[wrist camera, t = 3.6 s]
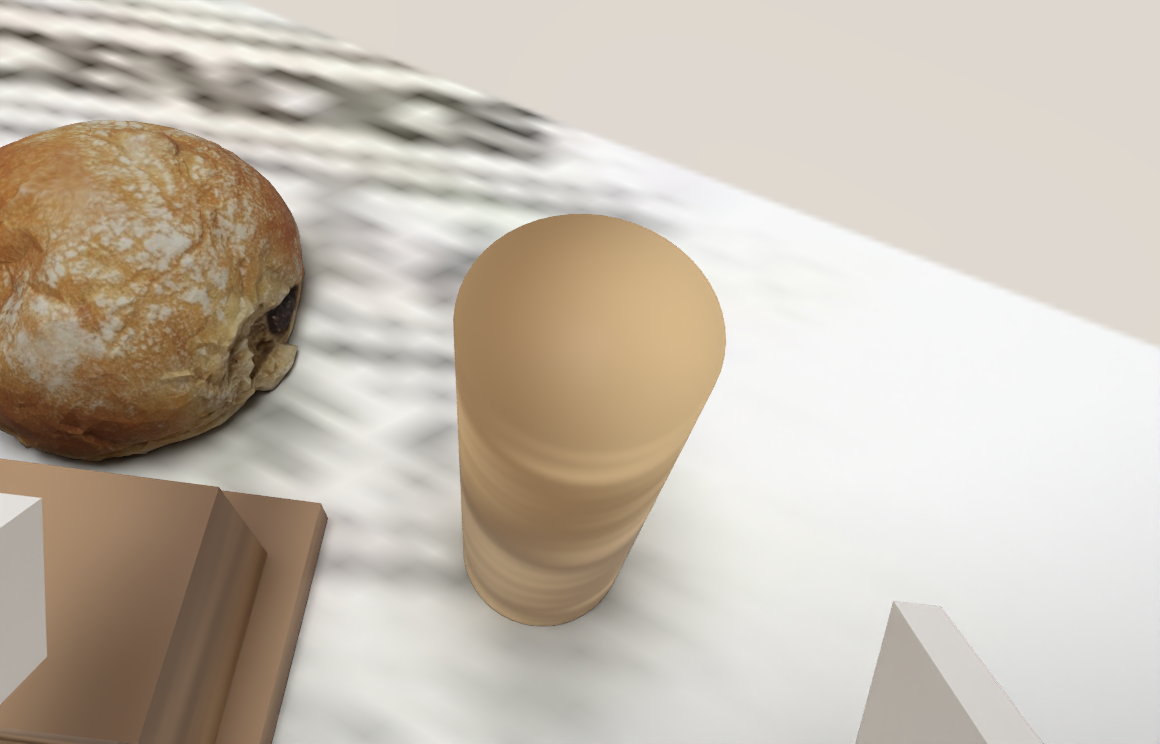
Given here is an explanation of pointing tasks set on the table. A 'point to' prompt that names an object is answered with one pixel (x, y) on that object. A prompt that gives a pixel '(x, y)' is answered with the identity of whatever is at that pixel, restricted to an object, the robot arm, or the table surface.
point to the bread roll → (137, 287)
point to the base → (161, 609)
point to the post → (573, 403)
